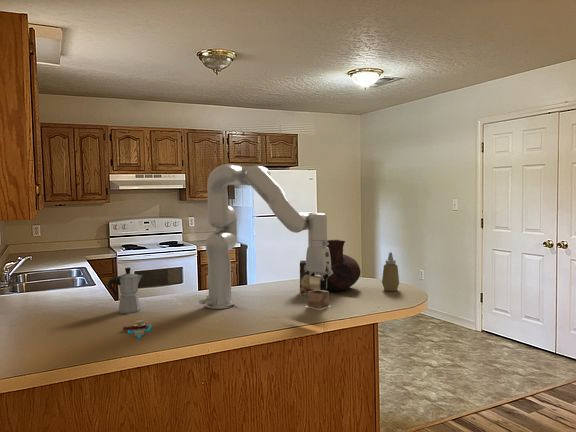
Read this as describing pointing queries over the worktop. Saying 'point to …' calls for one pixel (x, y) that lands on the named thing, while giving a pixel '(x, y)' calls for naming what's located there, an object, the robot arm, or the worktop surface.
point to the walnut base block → (318, 299)
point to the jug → (341, 268)
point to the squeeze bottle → (390, 274)
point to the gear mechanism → (140, 326)
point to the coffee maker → (127, 291)
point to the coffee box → (304, 279)
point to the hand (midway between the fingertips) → (318, 288)
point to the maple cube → (315, 282)
